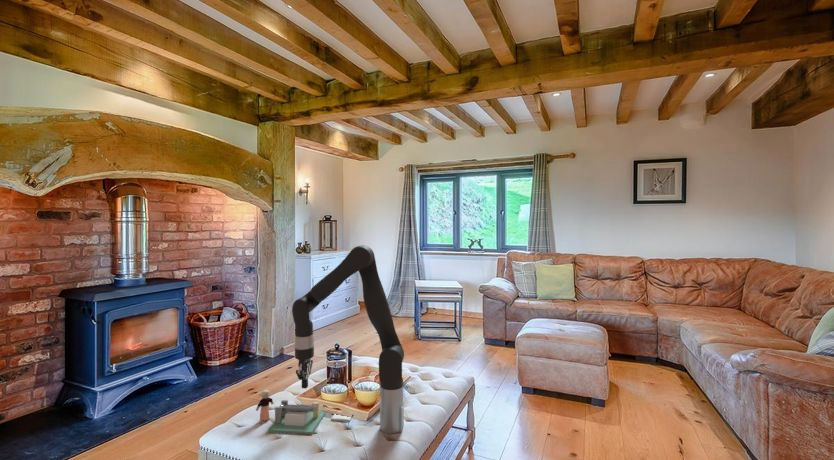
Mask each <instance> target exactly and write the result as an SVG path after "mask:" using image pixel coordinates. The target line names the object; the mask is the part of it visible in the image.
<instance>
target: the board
mask: <svg viewBox="0 0 834 460" xmlns="http://www.w3.org/2000/svg"><path fill="white" fill-rule="evenodd" d="M280 403H281V404H282V403H285V404H287V405H289V400H288V399H281V401H280ZM281 404H280V405H281ZM312 404H317V406H316V409H315V410H314V411H313V412H303V411H282V407H279V406H275V408H274V421H273V423H272V424H271V425H270V427H268V429H267V433H277V434H278V433H281V434H293V433H298V434H297V435H313V434H314V433H315V431H316V429H318V427H319V425H320V423H321V422H322V420H323V419H324V417H325V416H326V411H320V401H314V402H313V403H312Z"/></svg>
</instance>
